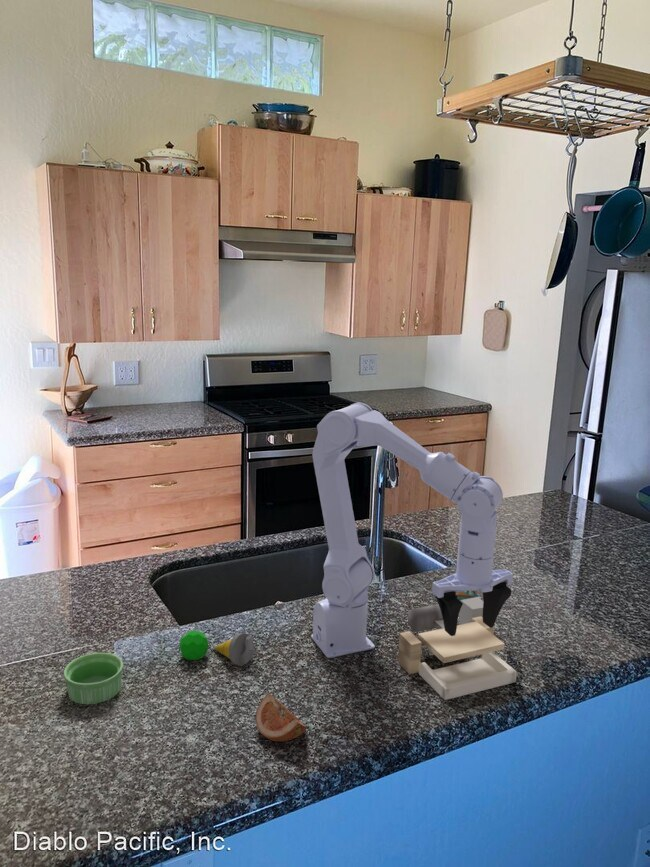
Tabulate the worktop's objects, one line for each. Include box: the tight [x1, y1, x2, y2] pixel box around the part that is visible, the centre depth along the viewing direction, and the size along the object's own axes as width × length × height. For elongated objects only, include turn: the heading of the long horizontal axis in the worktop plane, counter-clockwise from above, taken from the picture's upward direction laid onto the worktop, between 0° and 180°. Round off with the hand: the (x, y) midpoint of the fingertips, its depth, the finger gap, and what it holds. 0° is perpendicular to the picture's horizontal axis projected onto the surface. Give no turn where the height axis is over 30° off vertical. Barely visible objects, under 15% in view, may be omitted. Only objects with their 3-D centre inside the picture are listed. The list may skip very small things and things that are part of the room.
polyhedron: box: [178, 630, 209, 661], centre depth 120 cm, size 5×5×5 cm
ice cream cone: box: [213, 632, 257, 667], centre depth 120 cm, size 5×5×10 cm
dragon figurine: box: [430, 590, 479, 601], centre depth 143 cm, size 6×7×8 cm
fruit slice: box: [255, 692, 308, 742], centre depth 100 cm, size 8×7×5 cm
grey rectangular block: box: [458, 596, 483, 625], centre depth 133 cm, size 4×4×5 cm
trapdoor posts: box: [397, 616, 495, 675], centre depth 121 cm, size 4×17×6 cm, turn 113°
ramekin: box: [63, 652, 124, 705], centre depth 109 cm, size 9×9×4 cm
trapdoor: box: [407, 603, 506, 664], centre depth 120 cm, size 15×12×4 cm
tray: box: [418, 651, 518, 701], centre depth 116 cm, size 14×8×2 cm, turn 113°
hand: (469, 628), depth 114 cm, fingers open, 7 cm apart
